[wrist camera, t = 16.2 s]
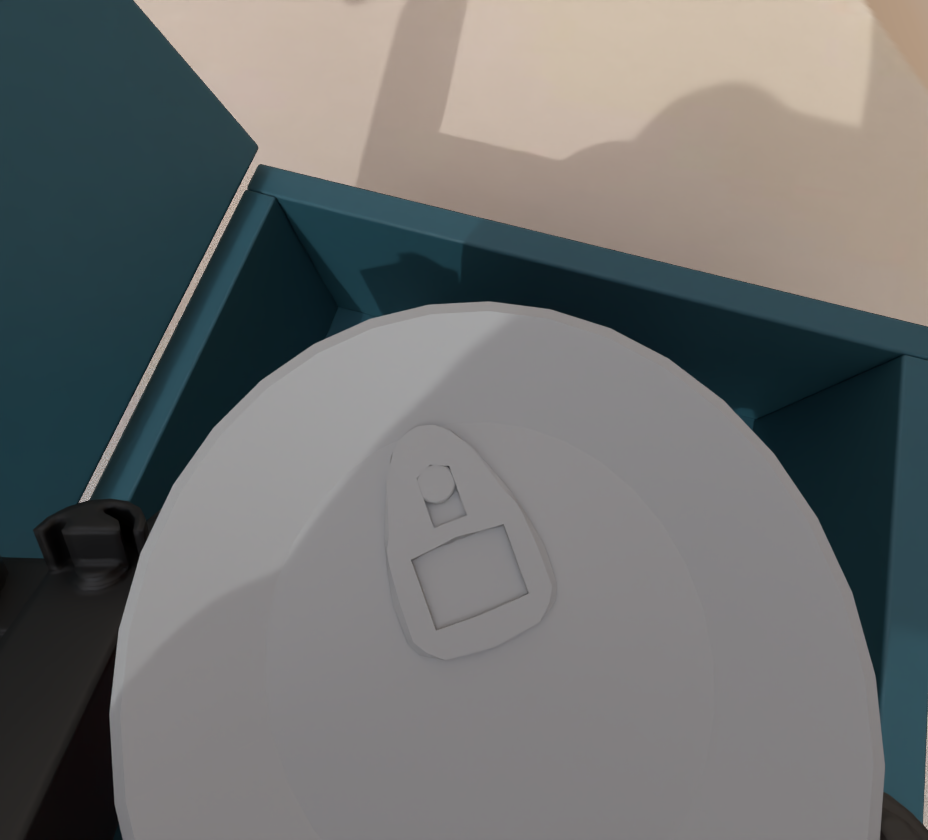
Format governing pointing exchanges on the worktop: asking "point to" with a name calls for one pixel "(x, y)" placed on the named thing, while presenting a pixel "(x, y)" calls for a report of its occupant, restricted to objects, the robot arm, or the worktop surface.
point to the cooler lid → (93, 232)
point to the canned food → (490, 607)
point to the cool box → (604, 303)
